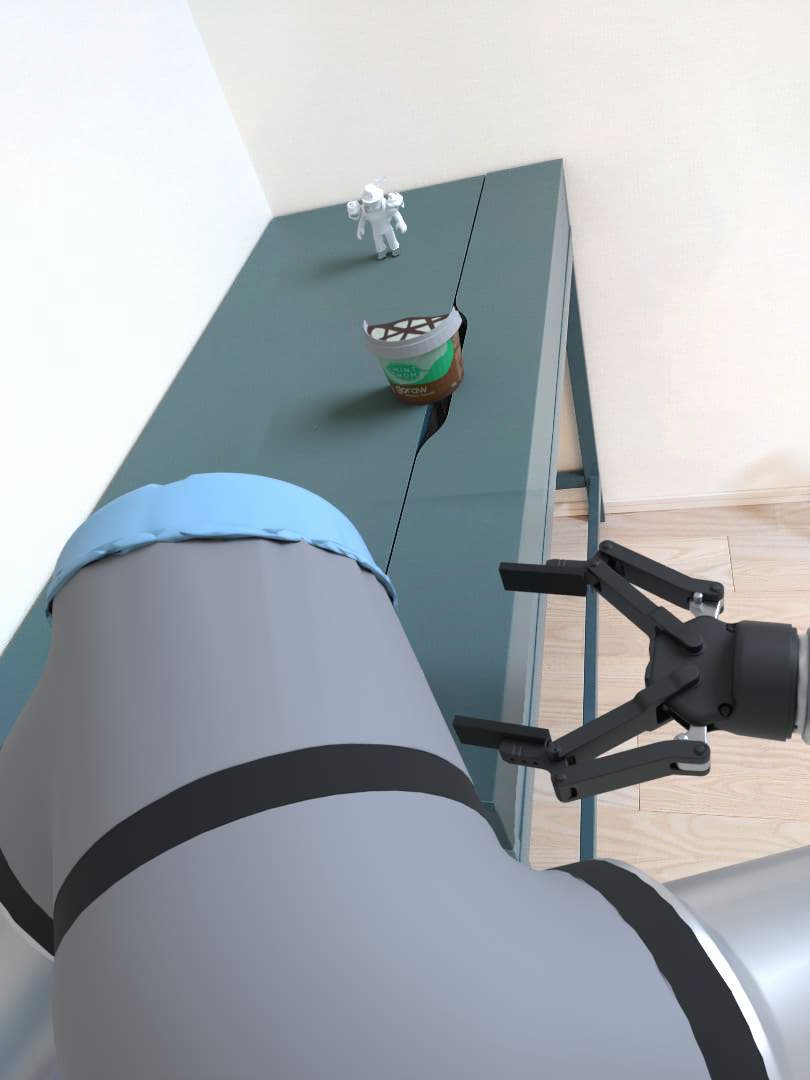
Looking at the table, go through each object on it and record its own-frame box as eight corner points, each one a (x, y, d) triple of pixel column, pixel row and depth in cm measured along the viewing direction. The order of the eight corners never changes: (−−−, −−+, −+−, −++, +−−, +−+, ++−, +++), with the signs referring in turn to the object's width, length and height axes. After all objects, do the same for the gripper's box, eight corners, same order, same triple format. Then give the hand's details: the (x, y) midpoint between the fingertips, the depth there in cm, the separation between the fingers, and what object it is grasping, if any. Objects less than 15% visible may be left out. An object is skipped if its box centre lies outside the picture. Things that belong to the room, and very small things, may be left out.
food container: (374, 415, 101) (349, 350, 94) (383, 384, 105) (360, 320, 98) (470, 405, 97) (451, 336, 90) (475, 373, 101) (458, 305, 94)
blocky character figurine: (417, 242, 128) (397, 168, 120) (414, 255, 126) (393, 181, 117) (364, 252, 131) (341, 180, 122) (360, 265, 128) (335, 193, 120)
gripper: (790, 901, 47) (448, 829, 55) (796, 568, 61) (525, 551, 70) (800, 853, 42) (420, 781, 50) (804, 501, 56) (510, 491, 65)
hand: (481, 647), depth 60 cm, fingers open, 13 cm apart
